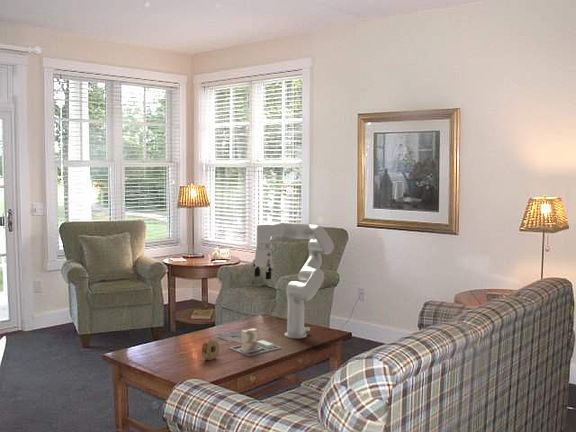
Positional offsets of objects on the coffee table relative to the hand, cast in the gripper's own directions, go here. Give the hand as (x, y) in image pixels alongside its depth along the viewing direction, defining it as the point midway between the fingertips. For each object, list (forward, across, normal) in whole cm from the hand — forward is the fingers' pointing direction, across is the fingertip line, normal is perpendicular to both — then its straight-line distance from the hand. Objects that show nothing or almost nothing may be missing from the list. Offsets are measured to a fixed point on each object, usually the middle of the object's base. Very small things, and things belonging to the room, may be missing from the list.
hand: (262, 277), depth 340 cm
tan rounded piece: (+37, -6, +36) cm, 52 cm away
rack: (+37, -9, +10) cm, 39 cm away
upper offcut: (+35, -8, +4) cm, 36 cm away
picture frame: (+38, +15, +3) cm, 41 cm away
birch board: (+37, -9, +14) cm, 40 cm away
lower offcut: (+37, -9, +4) cm, 38 cm away
